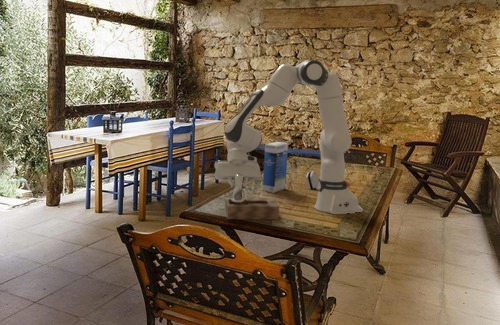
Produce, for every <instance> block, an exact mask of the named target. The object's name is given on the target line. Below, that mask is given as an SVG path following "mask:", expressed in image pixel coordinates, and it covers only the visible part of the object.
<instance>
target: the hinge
mask: <svg viewBox="0 0 500 325" xmlns="http://www.w3.org/2000/svg"><path fill="white" fill-rule="evenodd" d="M305 179H306V184H307V187H308V190H311V189H315V190H317V191H319V190H318V183H319V179H320V176H319V174H318V171H317V170H311V171H308V172H307V174H306V176H305Z"/></svg>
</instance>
